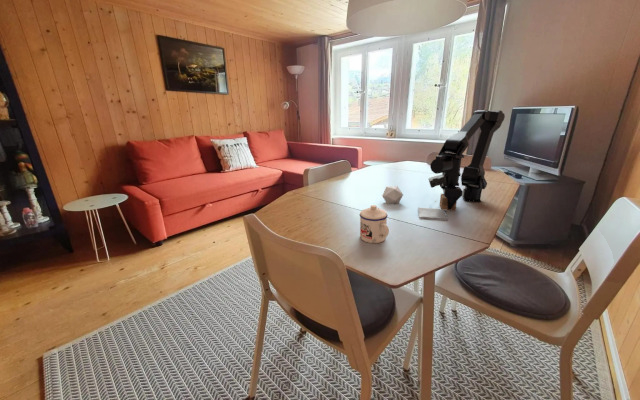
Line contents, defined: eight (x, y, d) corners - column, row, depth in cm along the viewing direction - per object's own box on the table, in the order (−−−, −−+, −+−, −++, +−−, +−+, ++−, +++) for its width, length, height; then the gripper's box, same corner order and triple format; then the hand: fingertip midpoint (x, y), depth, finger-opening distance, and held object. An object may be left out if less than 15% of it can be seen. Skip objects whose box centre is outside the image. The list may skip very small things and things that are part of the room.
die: (398, 209, 114) (408, 190, 114) (381, 199, 114) (391, 180, 114) (393, 208, 122) (402, 191, 123) (377, 200, 122) (386, 182, 123)
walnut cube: (453, 206, 113) (454, 194, 111) (455, 210, 108) (457, 198, 106) (439, 205, 114) (440, 193, 113) (441, 209, 110) (442, 197, 108)
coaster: (443, 210, 108) (443, 209, 108) (447, 220, 99) (447, 218, 99) (418, 209, 111) (418, 207, 111) (419, 218, 102) (419, 216, 102)
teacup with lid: (354, 235, 91) (354, 204, 87) (375, 229, 94) (376, 199, 91) (375, 250, 81) (376, 216, 77) (398, 243, 84) (400, 210, 80)
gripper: (428, 164, 116) (425, 197, 122) (433, 174, 100) (429, 212, 105) (456, 165, 113) (451, 198, 118) (465, 175, 96) (459, 214, 102)
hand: (447, 205), depth 111 cm, fingers open, 9 cm apart
